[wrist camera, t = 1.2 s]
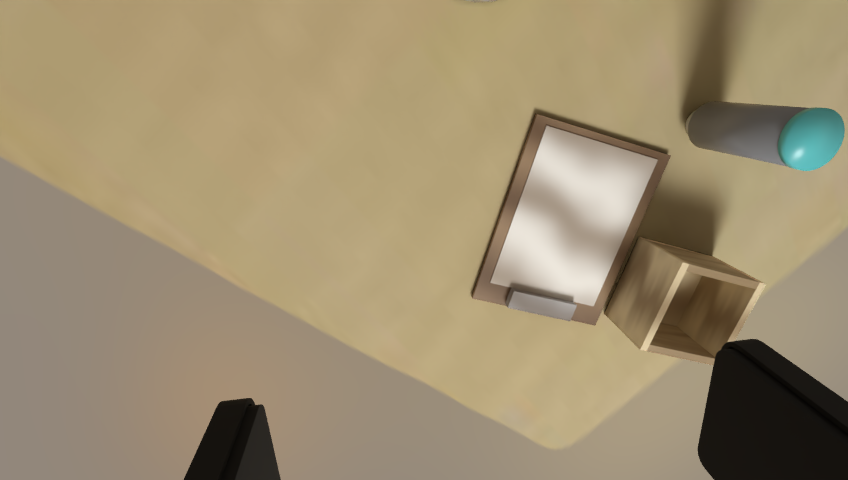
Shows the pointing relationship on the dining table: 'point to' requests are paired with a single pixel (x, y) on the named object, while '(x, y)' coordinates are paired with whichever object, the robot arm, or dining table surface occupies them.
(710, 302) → the wooden box
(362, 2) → the dining table surface
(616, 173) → the clipboard
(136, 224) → the dining table surface
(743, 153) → the cylinder
